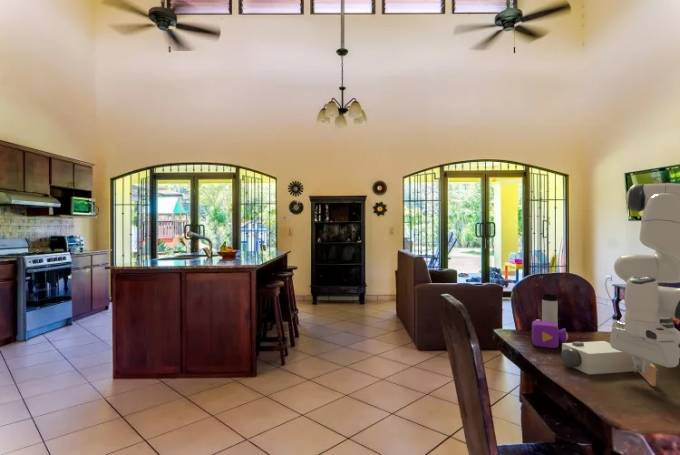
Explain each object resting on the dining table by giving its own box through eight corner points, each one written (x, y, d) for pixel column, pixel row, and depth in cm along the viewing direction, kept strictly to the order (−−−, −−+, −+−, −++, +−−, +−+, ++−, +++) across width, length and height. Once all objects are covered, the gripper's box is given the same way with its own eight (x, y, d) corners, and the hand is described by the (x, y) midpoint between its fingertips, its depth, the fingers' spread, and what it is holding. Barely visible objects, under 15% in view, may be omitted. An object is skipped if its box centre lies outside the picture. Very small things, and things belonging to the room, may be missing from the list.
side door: (633, 368, 134) (633, 351, 134) (641, 369, 133) (642, 352, 133) (649, 385, 119) (649, 366, 119) (658, 386, 118) (659, 367, 119)
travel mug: (539, 336, 176) (539, 292, 176) (544, 333, 180) (544, 291, 180) (554, 339, 171) (554, 294, 171) (559, 336, 176) (559, 292, 176)
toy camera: (571, 350, 156) (571, 326, 156) (535, 348, 158) (535, 324, 158) (562, 342, 166) (562, 319, 166) (528, 340, 169) (528, 318, 169)
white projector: (603, 359, 145) (603, 338, 145) (633, 371, 133) (633, 348, 133) (554, 362, 141) (555, 341, 141) (581, 375, 129) (581, 351, 129)
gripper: (604, 320, 131) (604, 360, 132) (665, 337, 111) (665, 384, 111) (620, 319, 133) (620, 359, 133) (683, 336, 113) (683, 383, 113)
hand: (641, 371), depth 122 cm, fingers closed
